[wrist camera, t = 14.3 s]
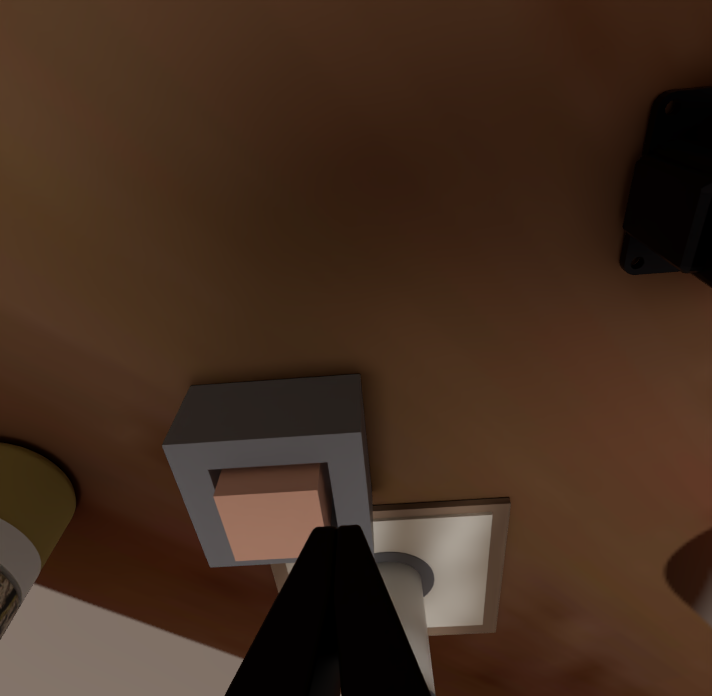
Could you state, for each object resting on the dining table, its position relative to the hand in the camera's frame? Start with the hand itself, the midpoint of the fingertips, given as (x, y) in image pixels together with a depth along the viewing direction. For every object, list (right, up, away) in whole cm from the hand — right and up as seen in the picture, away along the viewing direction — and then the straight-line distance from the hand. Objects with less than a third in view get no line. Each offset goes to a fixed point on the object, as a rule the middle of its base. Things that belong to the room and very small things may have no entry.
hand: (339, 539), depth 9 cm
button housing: (-3, -1, +16) cm, 17 cm away
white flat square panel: (+2, -11, +22) cm, 25 cm away
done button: (-3, -2, +15) cm, 16 cm away
